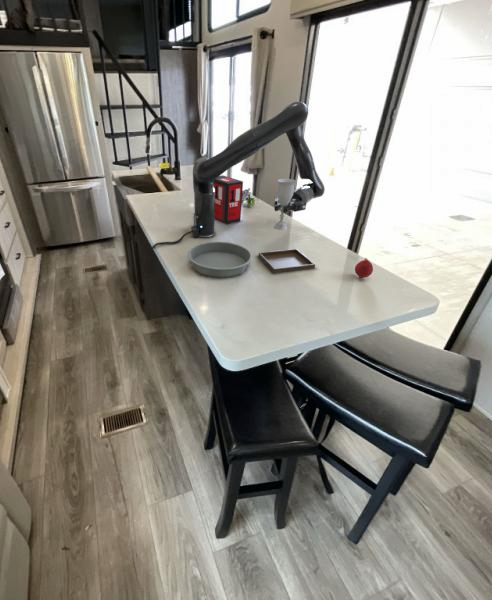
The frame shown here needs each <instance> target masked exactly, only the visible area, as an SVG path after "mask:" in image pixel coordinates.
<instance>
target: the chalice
mask: <svg viewBox="0 0 492 600" xmlns="http://www.w3.org/2000/svg"><path fill="white" fill-rule="evenodd" d="M297 182H298V181H297V180H296V179H293V178H279V179H277V183H278V184H277V192H276V194H277V198H278V200H279V203H280V205H281V206H282V209H280V215H279V217H280V219H279V221H277V222H276V223H275V225H274V227H273V228H274V230H277V231H286V230H287V223H286V222H285V221H284V218H285V215H284V214H285V213H283V209H284V207H285V206H287V205H288V203H289V202H290V200H291V198H292V196H293V192H294V190H295V186H296V184H297Z"/></svg>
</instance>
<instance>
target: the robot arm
mask: <svg viewBox="0 0 492 600" xmlns="http://www.w3.org/2000/svg"><path fill="white" fill-rule="evenodd" d="M308 116H309V107H308V106H307V105H306V104H305V103H304V102H302V101H293V102H291V103H289V104H287V105H286V106H284V107H283V108H282V110H281V111H280V112H279V113H277V115H275V116H274V117H272V118H270V119H268V120H266V121H264V122H261V123H259V124H257V125H255V126H253V127H251V128H250V129H248V130H246V131H244V132H242V133H241V134H240V135H238V136H237V137H235V138H234V140H232V141H231V142H230V143H229V144H228V146H226V147H225V148H224V149H223V150H222V151H220V152H219V153H218V154H216V155H214V156H211V157H209V158H208V157H205V156H204V157H203V156H202V157H199V158H197V159H196V160H195V162H194V164H193V166H192V187H193V188H192V189H193V193H194V194H193V197H194V198H193V199H194V200H193V201H194V212H193V213H192V214H193V217H192V218H193V225H191V226H190V230H189V231H187V232H185V233H184V234H182V236H181V237H180V238H178V239H177V240H175V241H161V242H156V243H155V244H153V246H152V247H151V250H154V249H155V248H156V247H157V246H159V245H175V244H178V243H180V242H181V241H182V240H183V239H184V238H185V237H186V236H187V235H190V234H191V233H192V235H193V237H195V238H203V239H205V238H213V237H214V236H215V220H216V219H215V190H214V180H215V179H216V178H217V177H219V176H222V175H223V174H224V173H226V172H227V171H228V170H229V169H231V168H233V167H234V166H236V165H239V164H240V163H242V162H243V161H245V160H247V159H248V158H250V157H251V156H253V155H255V154H257V153H258V152H260V151H261V150H262V149H263V150H264V149H265V148H266V147H267V146H268V145H270V144H272V142H274V141H275V140H276V139H278V138H279V137H281V136H282V135H284V134H286V137H287V140H288V142H289V145H290V147H291V151H292V153H293V157H294V161H295V164H296V168H297V171H298V175H299V178H300V179H301V180H310V182H308V183H305V184H302V185H300V186H299V188H296V189H294V192H293V196H292V198H291V200H290V202H289V203H288V205H287V206H285V207H284V209H283V213H284V214H286V213H289V212H294V213H296V212H300V211H305V210H306V208H307V204H308V203H310V202H311V201H312V200H313V199H316V198H317V199H318V198H320V197H323V196H324V194H325V192H326V191H325V184H324V182H323V181H322V179H321V178H320V175H319V173H318V172H317V169H316V166H315V161H314V157H313V154H312V152H311V150H310V148H309V146H308V144H307V142H306V140H305V137H304V134H303V130H302V126H303V124H304V123H305V122H306V121H307V118H308ZM273 208H274V209H273V210H274V211H275V212H278V211H281V210H282V206H281V205H280V203H279V200H278V196H276V197H274V205H273Z"/></svg>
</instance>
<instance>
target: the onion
mask: <svg viewBox="0 0 492 600" xmlns="http://www.w3.org/2000/svg"><path fill="white" fill-rule="evenodd" d="M354 271H355V275H357V277H358V278H359V279H361V280H362V279H366V278H368V277H370V276H371V275H372V274H373V272H374V266H373V264H372V263H371V261H370V260H369V258H367V257H365V258H364V259H363V260H360V261H359V262H357V264H356V265H355V267H354Z"/></svg>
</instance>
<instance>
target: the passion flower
mask: <svg viewBox="0 0 492 600" xmlns="http://www.w3.org/2000/svg"><path fill="white" fill-rule="evenodd" d="M251 195H252V191H251V187H248V188H247V189H243V190H242V204H243V203H244V202H246V203H247V208H249V209H250V208H251V207H254V205H255V203H256V201H259V196H256V197H255V196H254V197H251ZM255 198H256V200H255Z"/></svg>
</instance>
